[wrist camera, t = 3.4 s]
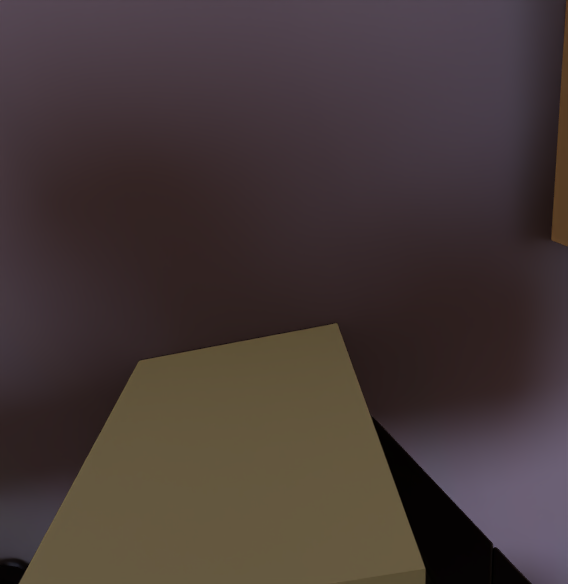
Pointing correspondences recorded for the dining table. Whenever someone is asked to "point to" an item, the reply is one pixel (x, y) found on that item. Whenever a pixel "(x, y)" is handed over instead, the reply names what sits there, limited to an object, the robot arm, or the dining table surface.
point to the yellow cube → (235, 476)
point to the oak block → (562, 155)
